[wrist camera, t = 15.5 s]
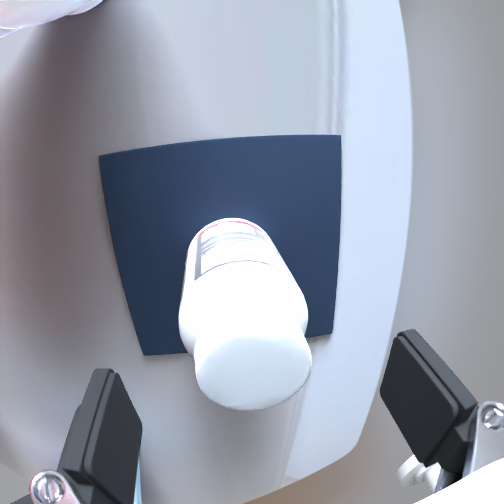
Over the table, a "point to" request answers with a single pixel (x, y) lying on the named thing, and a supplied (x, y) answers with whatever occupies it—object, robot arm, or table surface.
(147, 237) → the placemat
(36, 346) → the table surface
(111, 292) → the table surface
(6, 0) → the teapot
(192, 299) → the pill bottle
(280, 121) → the table surface
